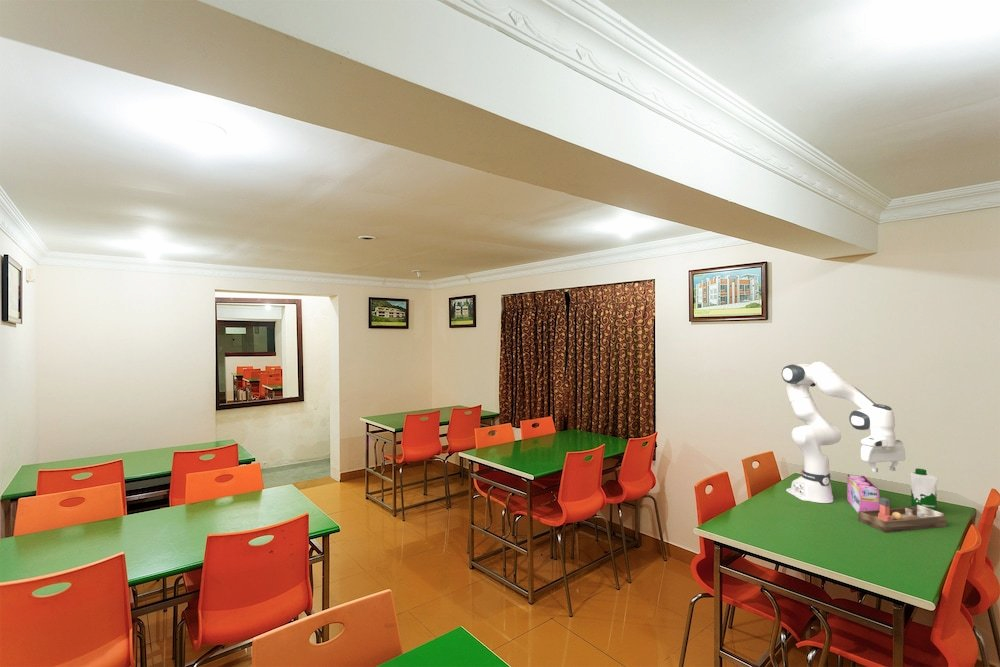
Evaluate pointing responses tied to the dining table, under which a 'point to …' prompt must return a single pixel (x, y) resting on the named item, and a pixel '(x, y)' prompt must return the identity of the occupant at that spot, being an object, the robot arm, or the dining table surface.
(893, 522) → the pitch
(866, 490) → the gum box
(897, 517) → the ball
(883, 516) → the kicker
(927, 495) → the milk carton
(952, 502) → the dining table surface
